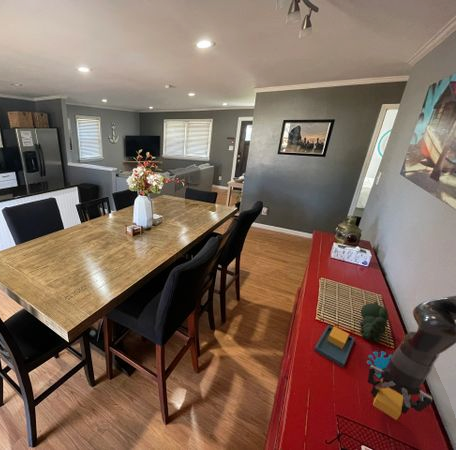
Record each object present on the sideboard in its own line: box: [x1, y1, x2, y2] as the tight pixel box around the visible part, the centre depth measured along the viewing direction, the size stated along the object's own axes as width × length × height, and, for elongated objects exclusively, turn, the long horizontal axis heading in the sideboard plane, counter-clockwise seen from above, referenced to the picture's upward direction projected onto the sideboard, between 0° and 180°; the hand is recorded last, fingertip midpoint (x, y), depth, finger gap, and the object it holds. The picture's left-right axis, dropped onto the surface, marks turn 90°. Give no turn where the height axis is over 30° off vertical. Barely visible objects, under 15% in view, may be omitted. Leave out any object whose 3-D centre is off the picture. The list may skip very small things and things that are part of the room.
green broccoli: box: [359, 301, 389, 344], centre depth 106 cm, size 9×19×25 cm
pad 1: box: [327, 326, 350, 349], centre depth 103 cm, size 6×8×3 cm
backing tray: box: [313, 324, 356, 368], centre depth 101 cm, size 10×19×2 cm, turn 132°
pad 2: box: [372, 387, 404, 421], centre depth 75 cm, size 6×8×3 cm
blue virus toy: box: [366, 350, 392, 379], centre depth 90 cm, size 11×6×10 cm
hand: (386, 402), depth 76 cm, fingers closed on pad 2, 5 cm apart
